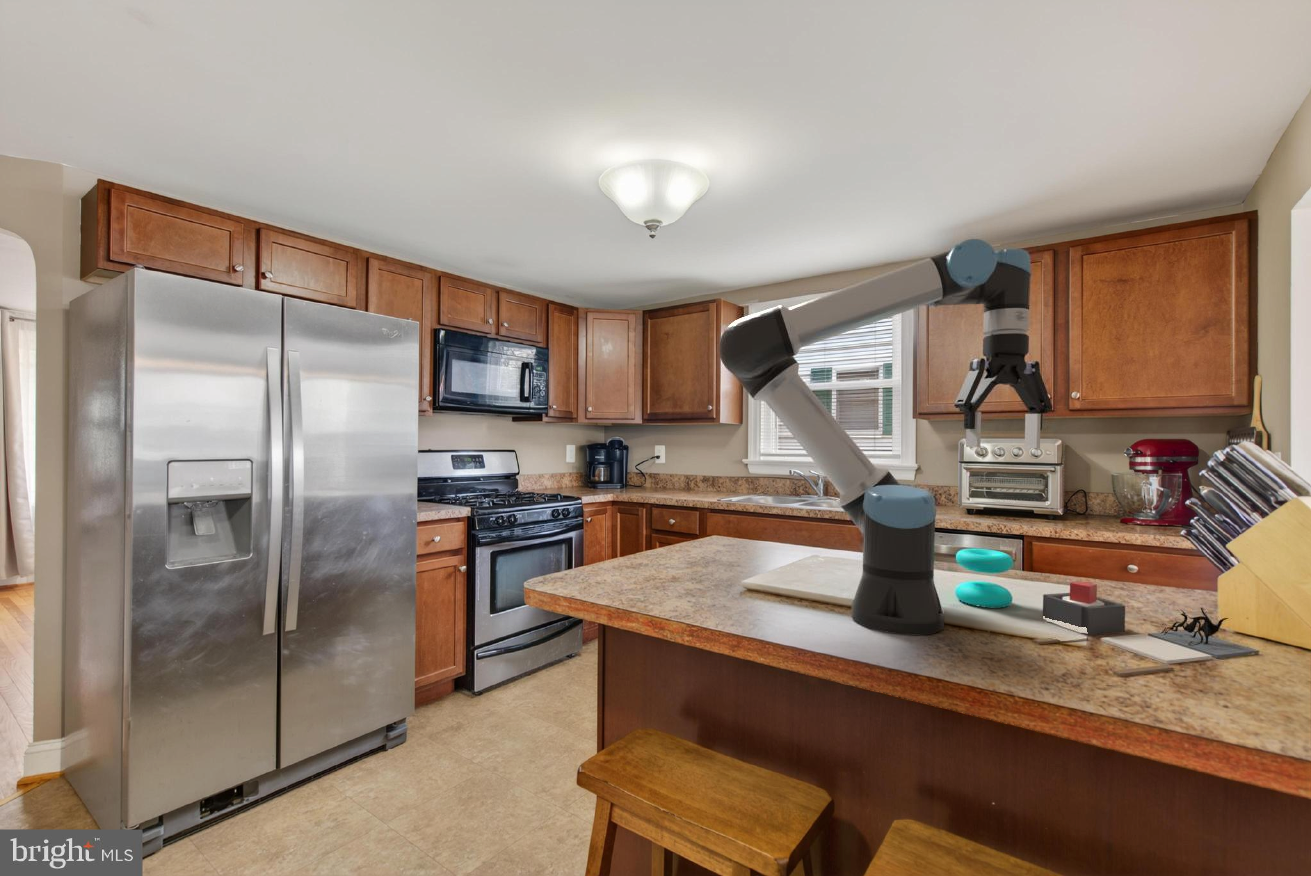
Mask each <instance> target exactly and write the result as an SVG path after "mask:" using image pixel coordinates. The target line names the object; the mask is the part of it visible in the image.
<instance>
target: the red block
mask: <svg viewBox="0 0 1311 876" xmlns="http://www.w3.org/2000/svg"><path fill="white" fill-rule="evenodd" d="M1097 587H1098V584H1097V583H1092V582H1086V581H1082V580H1081V581H1080V580H1075V581H1072V582H1070V584H1069V593H1070V596H1065V597H1063V598H1062V600H1066V601H1069V602H1072V603H1076V604H1079V605H1082V606H1086V607H1088V606H1101V605H1104V603H1103V602H1101V601H1099V600H1097V597H1098V596H1097V595H1098V588H1097Z"/></svg>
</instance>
